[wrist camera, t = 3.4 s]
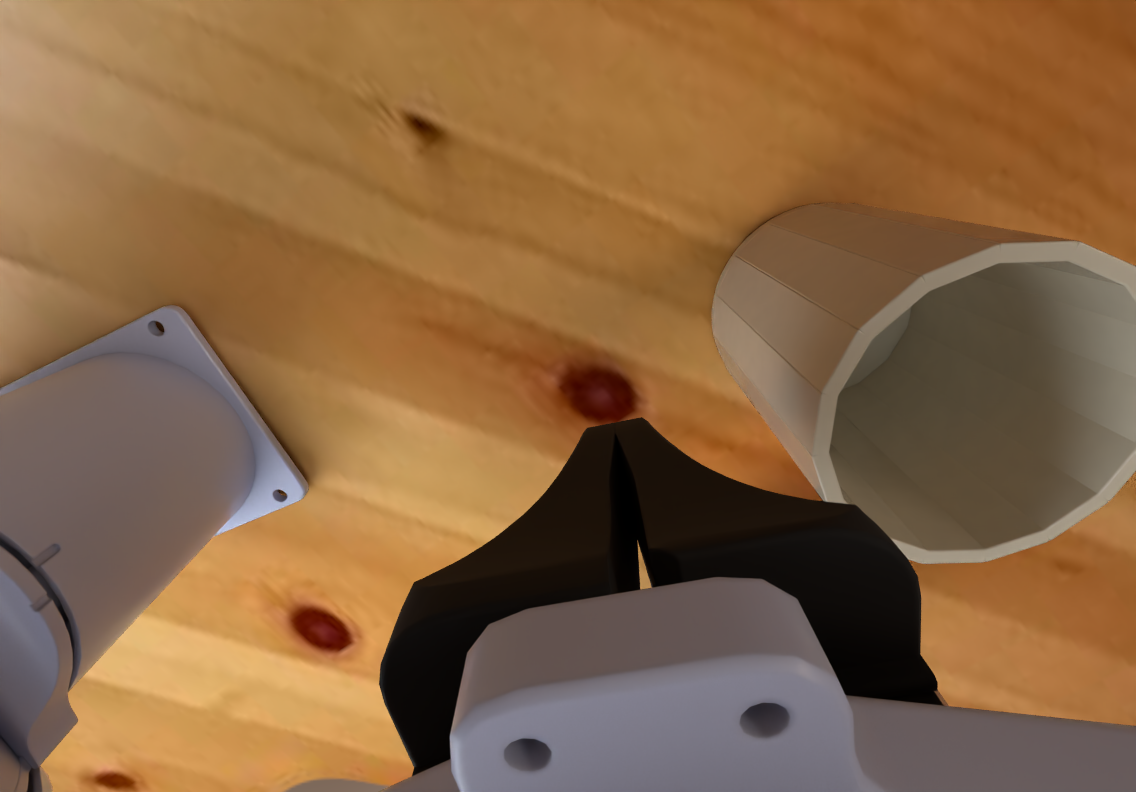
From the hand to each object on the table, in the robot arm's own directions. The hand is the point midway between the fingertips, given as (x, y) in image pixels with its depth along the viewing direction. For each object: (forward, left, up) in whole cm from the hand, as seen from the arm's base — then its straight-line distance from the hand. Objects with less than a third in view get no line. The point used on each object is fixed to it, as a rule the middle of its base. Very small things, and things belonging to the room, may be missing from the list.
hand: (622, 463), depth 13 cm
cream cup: (+7, -1, -8) cm, 11 cm away
